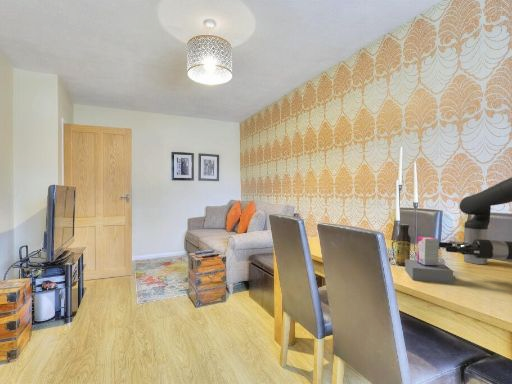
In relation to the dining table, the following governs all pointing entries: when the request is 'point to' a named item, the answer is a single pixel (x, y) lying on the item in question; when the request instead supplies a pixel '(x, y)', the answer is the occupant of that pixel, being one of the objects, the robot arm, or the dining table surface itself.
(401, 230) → the sauce bottle
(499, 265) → the dining table surface
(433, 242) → the supplement box
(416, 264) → the podium
